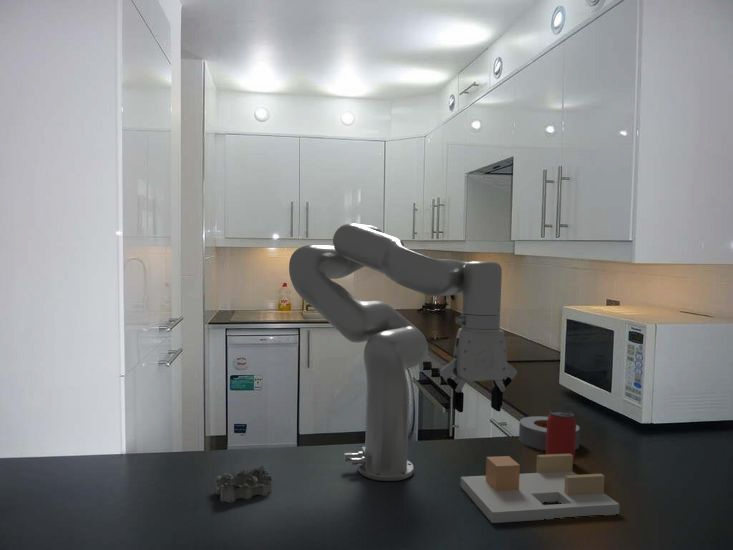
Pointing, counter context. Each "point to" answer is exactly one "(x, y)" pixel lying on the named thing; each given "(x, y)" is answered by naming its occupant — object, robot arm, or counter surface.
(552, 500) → the white flat board
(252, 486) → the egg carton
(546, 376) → the counter surface
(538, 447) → the tape roll
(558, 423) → the beer can
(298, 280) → the robot arm
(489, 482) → the block
